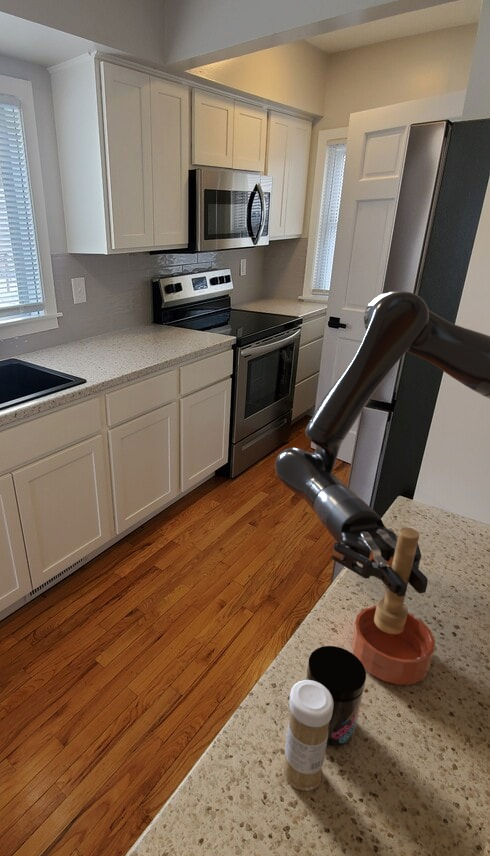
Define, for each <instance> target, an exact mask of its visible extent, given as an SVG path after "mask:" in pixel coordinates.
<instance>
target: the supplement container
mask: <svg viewBox="0 0 490 856" xmlns="http://www.w3.org/2000/svg"><path fill="white" fill-rule="evenodd" d="M366 671H367V670H366V669H365V668H364V666H363V664H362V663H361V661H360V660H359V659H358V658H357V657H356V656H355V655H354V654H353V652H351V651H349V650H347V649H345V648H343V647H340V646H334V645H324V646H320V647H317V648H316V649H314V650H312V652H311V653H310V655H309V656H308V662H307V668H306V680H312V681H316V682H318V683H320V684H322V685H323V686H324V687H326V688H327V689H328V691H329V692H330V694H331V695H332V698H333V713H332V718H331V720H330V722H329V727H328V739H327V745H326V747H333V748H335V747H336V748H337V747H342V746H345V745H346V744H348V743H350V742H351V741H352V740H353V738H354V736H355V735H356V729H357V724H358V718H359V714H360V708H361V703H362V700H363V699H362V698H363V693H364V691H365V686H366V680H367V672H366Z"/></svg>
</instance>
